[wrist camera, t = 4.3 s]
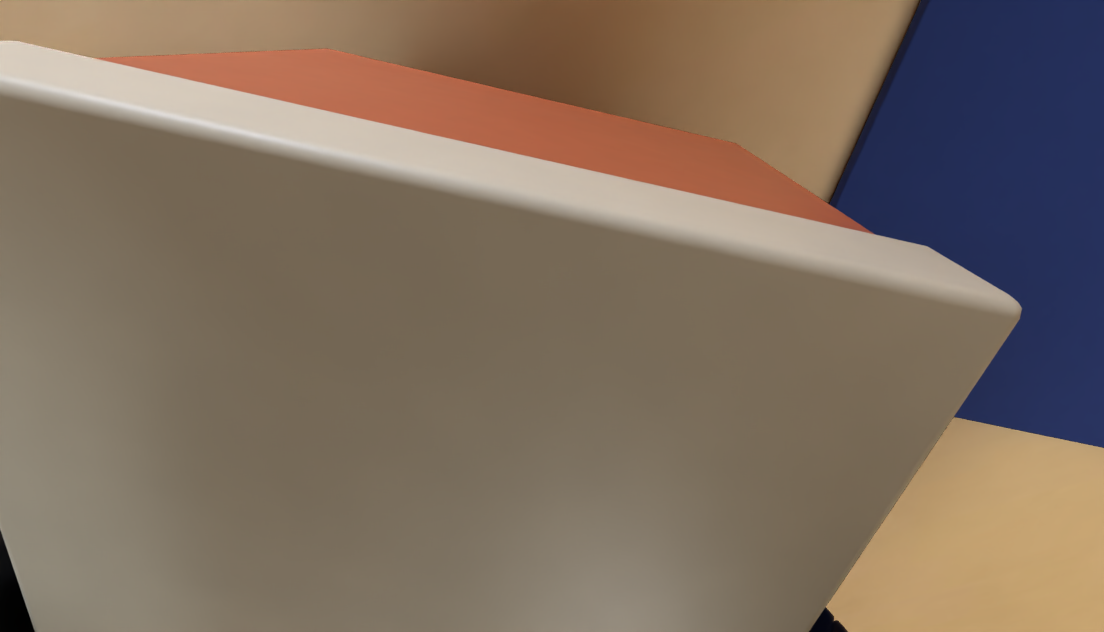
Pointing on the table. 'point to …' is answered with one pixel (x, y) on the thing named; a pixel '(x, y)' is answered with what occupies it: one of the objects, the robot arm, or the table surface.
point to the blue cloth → (1003, 189)
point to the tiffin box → (439, 357)
